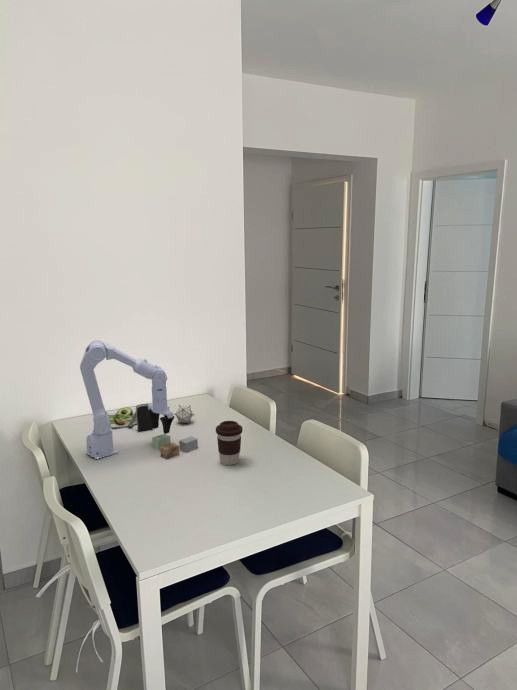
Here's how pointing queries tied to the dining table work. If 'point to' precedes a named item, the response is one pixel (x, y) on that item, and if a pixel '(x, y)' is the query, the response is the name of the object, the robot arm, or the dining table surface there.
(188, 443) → the grey brick
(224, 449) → the coffee cup
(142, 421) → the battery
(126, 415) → the salad plate
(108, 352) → the robot arm
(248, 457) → the dining table surface
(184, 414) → the grey wireframe spiky ball
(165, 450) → the walnut brick
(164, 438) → the green brick
